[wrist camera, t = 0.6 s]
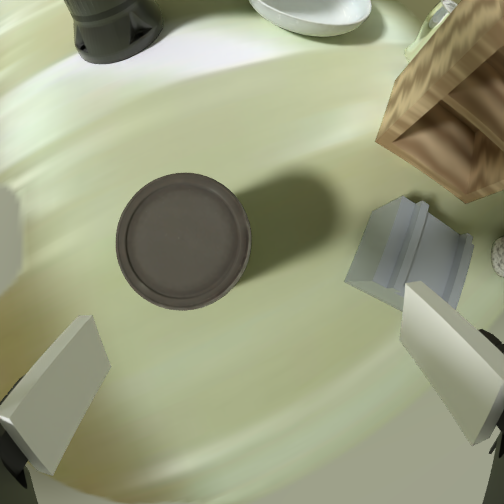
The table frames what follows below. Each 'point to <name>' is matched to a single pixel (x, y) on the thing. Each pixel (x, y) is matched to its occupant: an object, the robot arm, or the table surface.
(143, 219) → the coffee can
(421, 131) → the oak stand
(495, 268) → the mug
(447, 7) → the beer glass
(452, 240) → the grey cradle
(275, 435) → the table surface
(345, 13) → the serving bowl
